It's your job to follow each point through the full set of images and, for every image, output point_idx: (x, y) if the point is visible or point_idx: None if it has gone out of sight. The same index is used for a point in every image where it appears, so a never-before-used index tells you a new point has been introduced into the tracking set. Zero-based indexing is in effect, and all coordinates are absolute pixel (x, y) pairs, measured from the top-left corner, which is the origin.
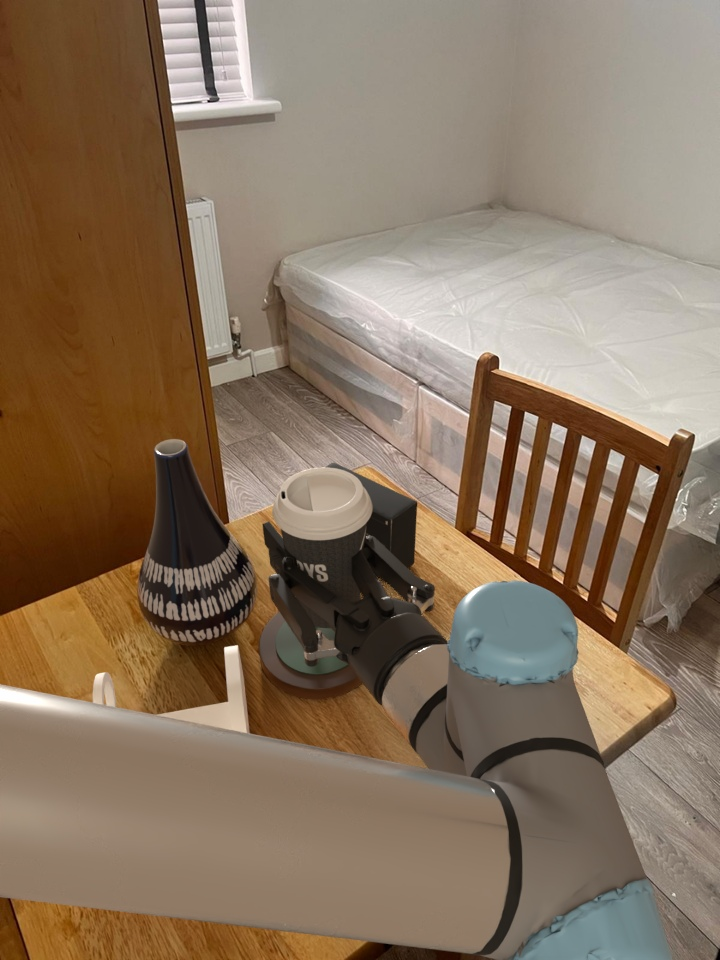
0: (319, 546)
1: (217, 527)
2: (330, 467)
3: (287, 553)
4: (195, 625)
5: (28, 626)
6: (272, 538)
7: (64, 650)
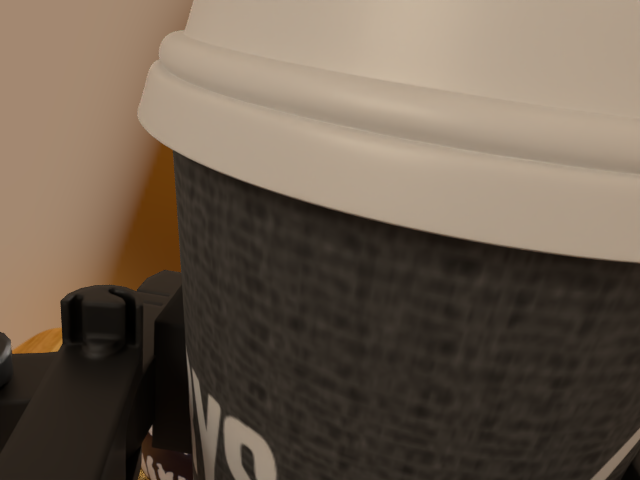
0: (258, 272)
1: None
2: None
3: (181, 294)
4: (163, 456)
5: (58, 340)
6: None
7: None
